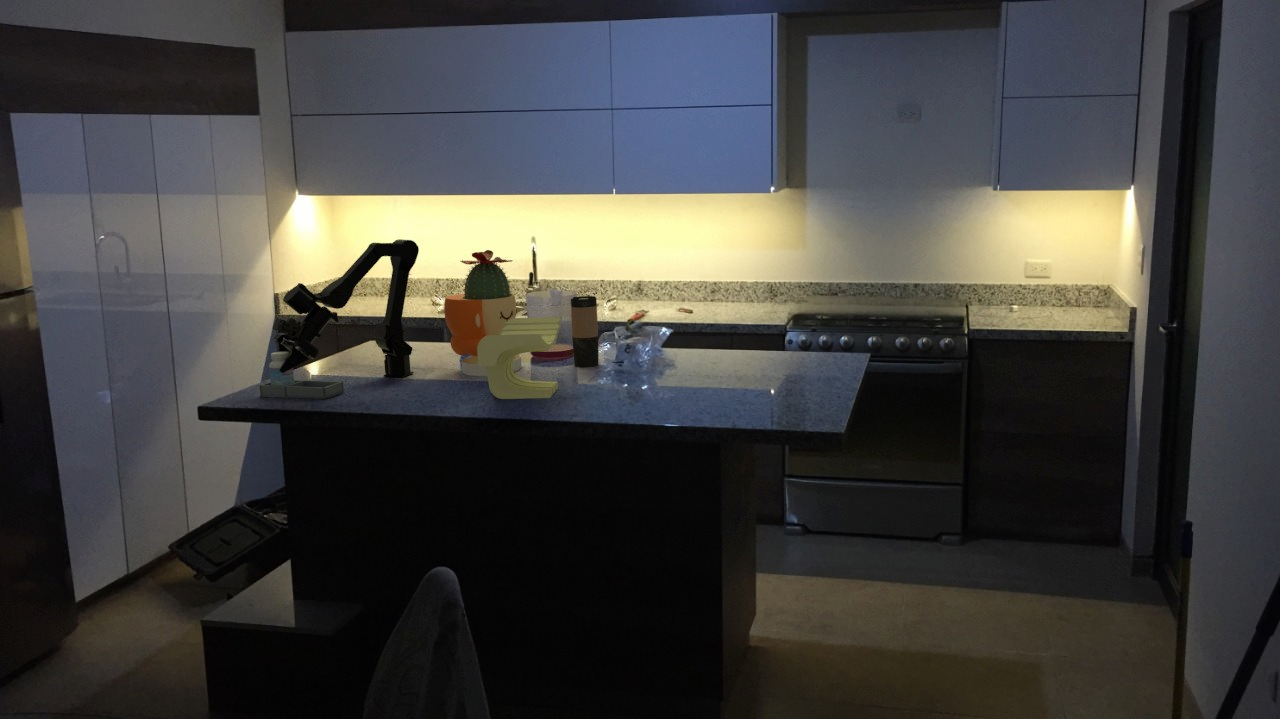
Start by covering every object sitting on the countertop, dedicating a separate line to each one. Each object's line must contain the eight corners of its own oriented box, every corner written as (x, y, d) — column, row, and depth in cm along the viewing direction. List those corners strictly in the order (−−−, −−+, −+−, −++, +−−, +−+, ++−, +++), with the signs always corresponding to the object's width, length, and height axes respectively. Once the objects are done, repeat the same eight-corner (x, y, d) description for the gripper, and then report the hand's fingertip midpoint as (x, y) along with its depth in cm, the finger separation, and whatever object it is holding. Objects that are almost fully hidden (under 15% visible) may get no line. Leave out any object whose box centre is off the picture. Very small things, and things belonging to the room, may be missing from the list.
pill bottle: (288, 396, 294) (284, 354, 292) (267, 396, 295) (263, 354, 293) (299, 391, 300) (295, 350, 298) (279, 391, 301) (275, 351, 299)
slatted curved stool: (506, 382, 302) (502, 318, 299) (563, 381, 301) (560, 317, 298) (480, 406, 273) (476, 335, 270) (544, 405, 271) (540, 334, 268)
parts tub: (343, 392, 296) (342, 381, 296) (325, 399, 288) (324, 387, 288) (280, 390, 303) (279, 379, 302) (260, 396, 295) (259, 385, 295)
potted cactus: (529, 362, 333) (523, 246, 326) (508, 376, 311) (501, 252, 305) (461, 362, 336) (454, 248, 330) (436, 376, 315) (427, 254, 309)
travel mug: (604, 364, 324) (601, 297, 320) (582, 368, 319) (579, 299, 316) (590, 361, 330) (587, 295, 326) (568, 364, 326) (565, 297, 322)
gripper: (277, 304, 303) (241, 348, 298) (303, 309, 289) (265, 356, 284) (307, 328, 309) (272, 373, 305) (334, 335, 295) (298, 381, 290)
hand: (276, 370), depth 296 cm, fingers closed on pill bottle, 6 cm apart
